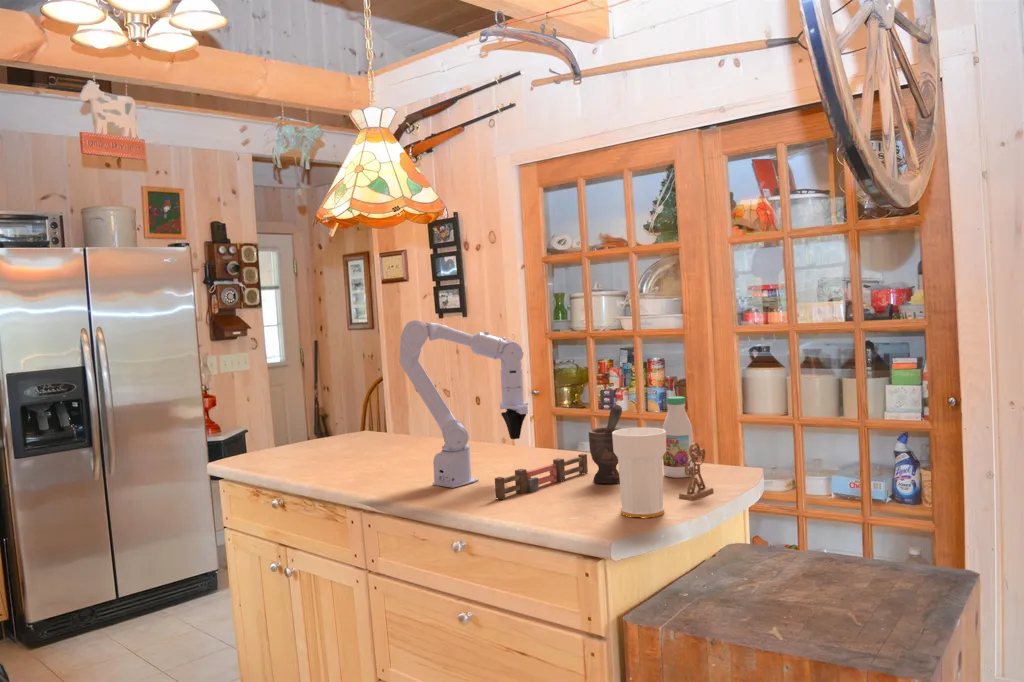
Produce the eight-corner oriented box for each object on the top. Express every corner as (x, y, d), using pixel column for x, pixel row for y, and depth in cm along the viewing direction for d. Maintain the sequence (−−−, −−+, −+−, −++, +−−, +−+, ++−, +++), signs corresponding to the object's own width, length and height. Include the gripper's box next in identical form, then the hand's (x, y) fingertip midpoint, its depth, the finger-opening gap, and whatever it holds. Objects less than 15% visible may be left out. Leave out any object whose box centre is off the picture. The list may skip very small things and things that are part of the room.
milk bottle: (672, 470, 209) (669, 394, 208) (700, 473, 204) (696, 395, 203) (658, 476, 203) (654, 398, 202) (686, 479, 198) (682, 399, 197)
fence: (504, 500, 187) (503, 477, 186) (495, 499, 189) (493, 476, 188) (591, 473, 211) (590, 452, 211) (582, 472, 213) (581, 451, 213)
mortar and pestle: (641, 482, 198) (638, 402, 197) (618, 489, 192) (614, 406, 191) (607, 476, 207) (603, 399, 206) (583, 482, 201) (580, 403, 200)
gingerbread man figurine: (693, 500, 178) (691, 447, 177) (678, 498, 181) (676, 445, 180) (714, 492, 184) (712, 440, 184) (699, 490, 187) (697, 439, 186)
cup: (642, 523, 162) (638, 437, 161) (604, 513, 171) (600, 432, 170) (681, 512, 169) (677, 430, 168) (642, 503, 178) (638, 425, 177)
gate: (553, 480, 204) (552, 463, 204) (557, 481, 203) (556, 464, 203) (524, 490, 195) (523, 472, 195) (528, 490, 195) (527, 472, 194)
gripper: (537, 387, 204) (540, 440, 205) (515, 383, 218) (518, 433, 218) (512, 390, 202) (514, 443, 202) (491, 386, 215) (494, 436, 216)
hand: (515, 438), depth 210 cm, fingers closed
